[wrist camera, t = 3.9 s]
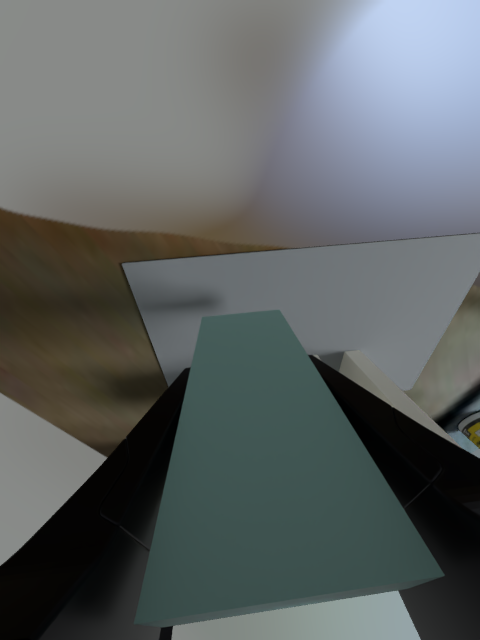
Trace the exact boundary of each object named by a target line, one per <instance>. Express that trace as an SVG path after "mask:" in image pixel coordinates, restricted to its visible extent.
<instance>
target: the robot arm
mask: <svg viewBox="0 0 480 640" xmlns="http://www.w3.org/2000/svg"><path fill="white" fill-rule="evenodd" d="M308 356H309V358H310V359H311V361H312V363H313V364H314V366H315V367H316V369H317V371H318V372H319V374H320V375H321V377H322V379H323V380H324V382H325V383H326V385H327V387H328V388H329V390H330V392H331V393H332V395H333V396H334V398H335V400H336V401H337V403H338V404H339V406H340V408H341V409H342V411H343V412H344V414H345V416H346V417H347V419H348V420H349V422H350V424H351V425H352V427H353V428H354V430H355V432H356V433H357V435H358V437H359V438H360V440H361V441H362V443H363V445H364V446H365V448H366V449H367V451H368V453H369V454H370V456H371V457H372V459H373V461H374V462H375V464H376V465H377V467H378V469H379V470H380V472H381V473H382V475H383V477H384V478H385V480H386V482H387V483H388V485H389V486H390V488H391V490H392V491H393V493H394V494H395V496H396V498H397V499H398V501H399V502H400V504H401V506H402V507H403V509H404V510H405V512H406V514H407V515H408V517H409V518H410V520H411V522H412V523H413V525H414V527H415V528H416V530H417V531H418V533H419V535H420V536H421V538H422V539H423V541H424V543H425V544H426V546H427V547H428V549H429V551H430V552H431V554H432V555H433V557H434V559H435V560H436V562H437V563H438V565H439V567H440V568H441V570H442V572H443V573H444V575H445V576H443V577H440V578H437V579H434V580H431V581H428V582H425V583H423V584H420V585H417V586H414V587H411V588H408V589H403V590H398V591H399V593H400V596H401V598H402V600H403V602H404V604H405V606H406V608H407V611H408V613H409V615H410V617H411V619H412V621H413V624H414V626H415V628H416V630H417V632H418V634H419V636H420V639H421V640H480V458H478V457H476V456H475V455H473V454H471V453H469V452H468V451H466V450H464V449H462V448H461V447H459V446H457V445H455V444H453V443H452V442H450V441H448V440H446V439H445V438H443V437H441V436H440V435H438V434H436V433H435V432H433V431H431V430H429V429H428V428H426V427H424V426H423V425H421V424H419V423H418V422H416V421H415V420H413V419H411V418H410V417H408V416H407V415H405V414H403V413H402V412H400V411H399V410H397V409H396V408H394V407H391V405H389V404H388V403H386V402H385V401H383V400H382V399H380V398H379V397H377V396H375V395H374V394H372V393H371V392H369V391H368V390H366V389H365V388H363V387H361V386H360V385H358V384H357V383H355V382H354V381H352V380H351V379H349V378H348V377H346V376H344V375H343V374H341V373H340V372H338V371H337V370H335V369H334V368H332V367H330V366H329V365H327V364H326V363H324V362H323V361H321V360H320V359H318V358H316V357H315V356H313V355H308ZM190 369H191V367H188V368H185V369H184V370H183V371H182V372H181V373H180V374H179V376H178V377H177V378H176V379H175V380H174V381H173V383H172V384H171V385H170V386H169V387H168V389H167V390H166V391H165V392H164V393H163V394H162V396H161V397H160V398H159V399H158V400H157V401H156V403H155V404H154V405H153V406H152V407H151V408H150V410H149V411H148V412H147V413H146V414H145V415H144V417H143V418H142V419H141V420H140V421H139V422H138V424H137V425H136V426H135V427H134V428H133V429H132V431H131V432H130V433H129V434H128V435H127V436H126V439H124V440H123V441H122V442H121V443H120V444H119V446H118V447H117V448H116V449H115V450H114V451H113V452H112V454H111V455H110V456H109V457H108V458H107V459H106V460H105V461H104V463H103V464H102V465H101V466H100V467H99V468H98V469H97V470H96V471H95V472H94V473H93V475H91V477H90V478H89V479H88V480H87V481H86V482H85V483H84V484H83V485H82V486H81V487H80V488H79V489H78V490H77V491H76V492H75V493H74V494H73V495H72V496H71V497H70V498H69V499H68V500H67V501H66V503H64V505H63V506H62V507H61V508H60V509H59V510H58V511H57V512H56V513H55V514H54V515H53V516H52V517H51V518H50V519H49V520H48V521H47V522H46V523H45V524H44V525H43V526H42V527H41V528H40V529H39V530H38V531H37V532H36V533H35V534H34V536H32V537H31V538H30V539H29V540H28V541H27V542H26V543H25V544H24V545H23V546H22V547H21V548H20V549H19V550H18V551H17V552H16V553H15V554H14V555H12V556H11V557H10V558H9V559H8V560H7V561H6V562H4V563H3V564H2V565H1V566H0V640H171V637H172V629H173V626H169V627H154V626H145V625H136V624H134V621H135V616H136V612H137V607H138V603H139V598H140V594H141V589H142V585H143V580H144V576H145V571H146V567H147V562H148V558H149V553H150V549H151V544H152V540H153V535H154V531H155V526H156V522H157V517H158V513H159V508H160V504H161V499H162V495H163V490H164V486H165V481H166V477H167V472H168V468H169V463H170V459H171V454H172V450H173V445H174V441H175V436H176V432H177V427H178V423H179V418H180V414H181V409H182V405H183V400H184V396H185V391H186V387H187V382H188V378H189V373H190Z"/></svg>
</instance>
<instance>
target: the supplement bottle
mask: <svg viewBox="0 0 480 640" xmlns="http://www.w3.org/2000/svg"><path fill="white" fill-rule="evenodd" d="M458 428H459V430H460V431H461V432H462V433H463V434H464V435H465V436H466V437H467V438H468V439H469V440H471V441H472V442H473V443H474V444H475V445H476V446H477V447H478V448H479V449H480V412H478V413H475V414H473V415H471V416H469V417H467V418H466V419H464V420H463V421H462V422H461V423H460V424H459V426H458Z"/></svg>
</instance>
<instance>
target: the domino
mask: <svg viewBox="0 0 480 640" xmlns="http://www.w3.org/2000/svg"><path fill="white" fill-rule="evenodd" d="M339 372H340V373H341V374H343V375H344V376H346V377H348V378H349V379H351V380H352V381H354V382H355V383H357V384H358V385H360V386H361V387H363V388H365V389H366V390H368V391H369V392H371V393H372V394H374V395H375V396H377V397H379V398H380V399H382V400H383V401H385V402H386V403H388V404H389V405H391V407H394V408H396V409H397V410H399V411H400V412H402V413H403V414H405V415H407V416H408V417H410V418H411V419H413V420H415V421H416V422H418V423H419V424H421V425H423V426H424V427H426V428H428V429H429V430H431V431H433V432H435V433H436V434H438V435H440V436H441V437H443V438H445V439H446V440H448V441H450V442H452V443H453V444H455V445H457V446H459V445H458V444H457V443H456V442H455V441H454V440H453V439H452V438H451V437H450V436H449V435H448V434H447V433H446V432H445V431H444V430H443V429H442V428H440V427H439V426H438V425H437V424H436V423H435V422H434V421H433V420H432V419H431V418H430V417H429V416H428V415H427V414H426V413H425V412H424V411H423V410H422V409H421V408H420V407H418V406H417V405H416V404H415V403H414V402H413V401H412V400H411V399H410V398H409V397H408V396H407V395H406V394H405V393H404V392H403V391H402V390H401V389H400V388H399V387H398V386H397V385H395V384H394V383H393V382H392V381H391V380H390V379H389V378H388V377H387V376H386V375H385V374H384V373H383V372H382V371H381V370H380V369H379V368H378V367H377V366H376V365H375V364H374V363H372V362H371V361H370V360H369V359H368V358H367V357H366V356H365V355H364V354H363V353H362V352H361V351H360V350H355V351H345V352H344V355H343V359H342V362H341V366H340V369H339ZM459 447H460V446H459Z"/></svg>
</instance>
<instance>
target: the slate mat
mask: <svg viewBox="0 0 480 640" xmlns="http://www.w3.org/2000/svg"><path fill="white" fill-rule="evenodd" d="M122 266H123V269H124V271H125V274H126V276H127V279H128V282H129V284H130V287H131V290H132V292H133V295H134V297H135V300H136V303H137V305H138V308H139V311H140V313H141V316H142V318H143V321H144V324H145V326H146V329H147V332H148V334H149V337H150V339H151V342H152V345H153V347H154V350H155V353H156V355H157V358H158V361H159V363H160V366H161V368H162V371H163V374H164V376H165V379H166V382H167V384H168V387H169V386H170V385H171V384H172V383H173V381H174V380H175V379H176V378H177V377H178V376H179V374H180V373H181V372H182V371H183V370H184V369H185V368H188V367H191V364H192V360H193V355H194V351H195V346H196V342H197V337H198V333H199V328H200V324H201V319H202V317H207V316H217V315H227V314H238V313H248V312H259V311H269V310H280V311H281V313H282V314H283V316H284V318H285V319H286V321H287V322H288V324H289V326H290V327H291V329H292V330H293V332H294V334H295V335H296V337H297V339H298V340H299V342H300V343H301V345H302V347H303V348H304V350H305V351H306V353H307V355H318V356H319V358H320V359H321V361H323V362H324V363H326V364H327V365H329V366H330V367H332V368H334V369H335V370H337V371H338V372H339V369H340V366H341V362H342V359H343V355H344V352H345V351H355V350H360V351H361V352H362V353H363V354H364V355H365V356H366V357H367V358H368V359H369V360H370V361H371V362H372V363H374V364H375V365H376V366H377V367H378V368H379V369H380V370H381V371H382V372H383V373H384V374H385V375H386V376H387V377H388V378H389V379H390V380H391V381H392V382H393V383H394V384H395V385H397V386H398V387H399V388H400V389H401V390H402V391H403V390H411V388H412V387H413V385H414V383H415V382H416V380H417V378H418V376H419V375H420V373H421V371H422V370H423V368H424V366H425V365H426V363H427V361H428V359H429V358H430V356H431V354H432V353H433V351H434V349H435V347H436V346H437V344H438V342H439V341H440V339H441V337H442V335H443V334H444V332H445V330H446V329H447V327H448V325H449V323H450V322H451V320H452V318H453V317H454V315H455V313H456V312H457V310H458V308H459V306H460V305H461V303H462V301H463V300H464V298H465V296H466V294H467V293H468V291H469V289H470V288H471V286H472V284H473V282H474V281H475V279H476V277H477V276H478V274H479V272H480V233H472V234H460V235H448V236H436V237H424V238H413V239H401V240H390V241H377V242H365V243H353V244H341V245H330V246H319V247H305V248H294V249H282V250H270V251H258V252H246V253H234V254H222V255H211V256H199V257H187V258H175V259H163V260H151V261H139V262H127V263H122Z"/></svg>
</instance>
